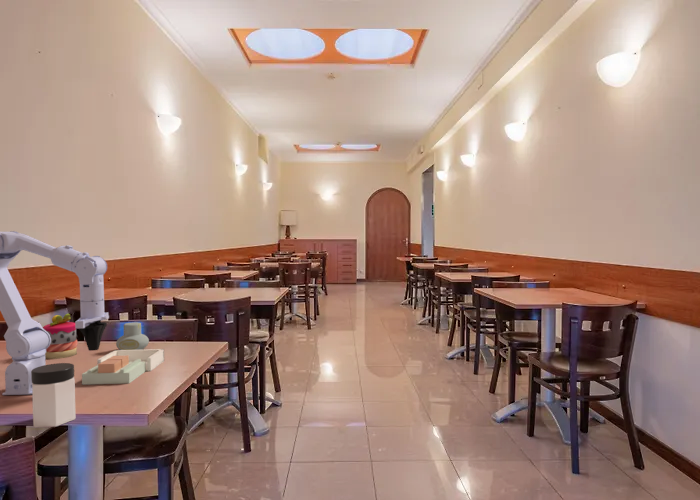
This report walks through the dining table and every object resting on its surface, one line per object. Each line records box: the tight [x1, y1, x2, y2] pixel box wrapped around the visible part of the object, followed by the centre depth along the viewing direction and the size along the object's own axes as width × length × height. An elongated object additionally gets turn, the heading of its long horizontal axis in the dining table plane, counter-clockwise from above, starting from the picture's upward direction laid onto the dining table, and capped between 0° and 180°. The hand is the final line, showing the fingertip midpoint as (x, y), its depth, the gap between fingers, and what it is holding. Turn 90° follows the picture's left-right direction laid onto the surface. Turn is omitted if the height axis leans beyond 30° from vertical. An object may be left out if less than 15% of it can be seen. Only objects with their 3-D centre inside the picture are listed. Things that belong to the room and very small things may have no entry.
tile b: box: [107, 355, 129, 368], centre depth 138 cm, size 4×4×2 cm
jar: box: [31, 362, 76, 429], centre depth 104 cm, size 9×8×12 cm
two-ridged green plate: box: [81, 359, 147, 386], centre depth 136 cm, size 12×13×4 cm
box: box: [96, 348, 165, 372], centre depth 148 cm, size 12×16×4 cm
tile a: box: [98, 360, 122, 373], centre depth 133 cm, size 4×4×2 cm
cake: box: [42, 313, 79, 360], centre depth 164 cm, size 10×11×15 cm
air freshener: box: [115, 321, 150, 350], centre depth 170 cm, size 11×8×10 cm
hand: (93, 349), depth 127 cm, fingers closed
